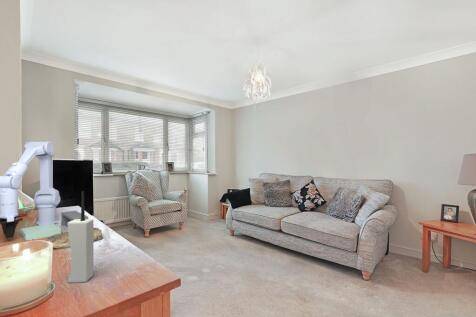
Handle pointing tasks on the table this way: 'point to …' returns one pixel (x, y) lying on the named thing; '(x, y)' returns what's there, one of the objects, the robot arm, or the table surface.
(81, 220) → the vintage mobile phone
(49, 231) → the mint green slab
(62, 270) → the table surface
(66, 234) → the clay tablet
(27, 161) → the robot arm
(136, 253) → the table surface
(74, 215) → the hood
